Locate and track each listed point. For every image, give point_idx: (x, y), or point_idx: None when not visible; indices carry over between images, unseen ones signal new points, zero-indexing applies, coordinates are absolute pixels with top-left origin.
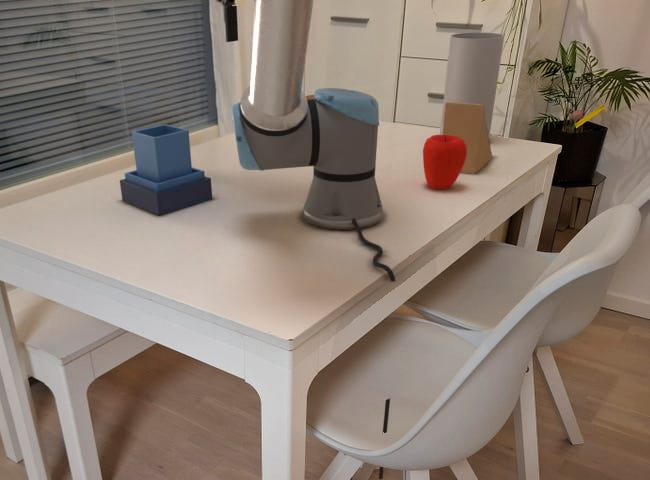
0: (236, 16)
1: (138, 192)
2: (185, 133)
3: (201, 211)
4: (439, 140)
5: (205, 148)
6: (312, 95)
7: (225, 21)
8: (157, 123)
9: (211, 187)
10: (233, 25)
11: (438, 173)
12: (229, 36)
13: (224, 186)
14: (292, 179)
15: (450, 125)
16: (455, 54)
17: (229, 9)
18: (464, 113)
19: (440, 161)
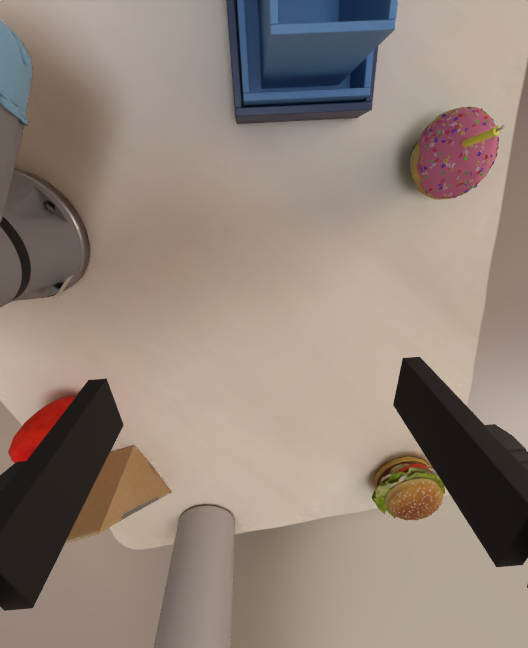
0: (454, 495)
1: None
2: (269, 20)
3: (188, 49)
4: None
5: (467, 307)
6: (425, 509)
7: (478, 422)
8: (503, 126)
9: (236, 119)
10: (433, 437)
11: (43, 407)
12: (413, 378)
13: (279, 193)
14: (228, 300)
15: (103, 500)
16: (195, 644)
17: (505, 505)
18: (79, 524)
19: (29, 419)
